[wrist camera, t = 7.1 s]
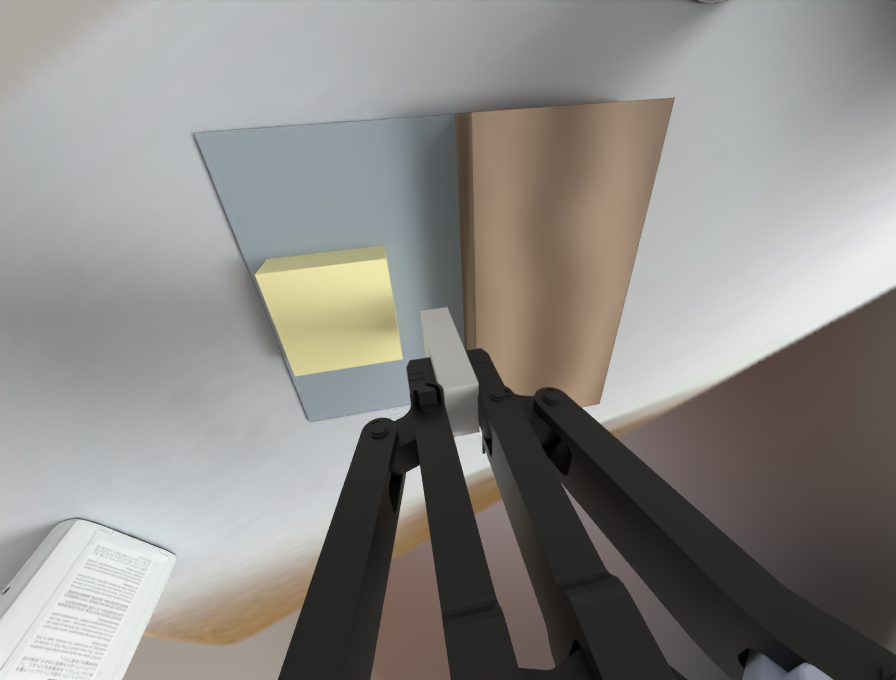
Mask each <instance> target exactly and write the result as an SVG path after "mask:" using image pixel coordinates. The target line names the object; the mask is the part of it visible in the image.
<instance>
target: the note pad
mask: <svg viewBox="0 0 896 680" xmlns="http://www.w3.org/2000/svg"><path fill="white" fill-rule="evenodd" d="M255 277H256V279H257V282H258V284H259V287H260V289H261V292H262V294H263V297H264V299H265V302H266V305H267V307H268V310H269V312H270V315H271V317H272V320H273V322H274V325H275V327H276V330H277V332H278V335H279V338H280V340H281V343H282V345H283V348H284V350H285V353H286V355H287V358H288V360H289V363H290V365H291V368H292V370H293V373H294V376H301V375H307V374H314V373H320V372H326V371H333V370H339V369H345V368H351V367H358V366H364V365H370V364H376V363H383V362H389V361H395V360H402V359H403V357H402V349H401V341H400V335H399V329H398V323H397V317H396V311H395V305H394V299H393V293H392V286H391V280H390V274H389V268H388V262H387V256H386V250H385V245H383V246H374V247H366V248H357V249H349V250H340V251H332V252H323V253H315V254H306V255H298V256H289V257H281V258H272V259H266V261H265V262H264V263H263V265H262V266H261V267H260V269H259V270H258V271H257V272H256V274H255Z"/></svg>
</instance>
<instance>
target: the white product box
mask: <svg viewBox="0 0 896 680" xmlns="http://www.w3.org/2000/svg"><path fill="white" fill-rule="evenodd" d="M176 560H177V557H176V556H175V555H174V554H172V553H170V552H168V551H166V550H163V549H161V548H158V547H156V546H153V545H151V544H148V543H145V542H143V541H140V540H138V539H135V538H132V537H130V536H127V535H125V534H122V533H119V532H117V531H114V530H112V529H110V528H107V527H104V526H101V525H98V524H96V523H92V522H89V521H85V520H80V519H70V520H66V521H63V522H61V523H59V524H57V525H56V526H55V527H54V528H53V529H52V530H51V531H50V533H49V534H48V535H47V536H46V538H45V539H44V540H43V541H42V543H41V544H40V545H39V546H38V548H37V549H36V550H35V551H34V552H33V554H32V555H31V556H30V557H29V559H28V560H27V561H26V562H25V564H24V565H23V566H22V567H21V569H20V570H19V571H18V572H17V574H16V575H15V576H14V577H13V579H12V580H11V581H10V582H9V584H8V585H7V586H6V587H5V589H4V590H3V591H2V592H1V594H0V680H122V678H123V676H124V674H125V672H126V670H127V668H128V665H129V663H130V661H131V659H132V657H133V654H134V652H135V650H136V648H137V646H138V644H139V642H140V639H141V637H142V635H143V633H144V631H145V628H146V626H147V624H148V622H149V620H150V618H151V615H152V613H153V611H154V609H155V607H156V605H157V602H158V600H159V598H160V596H161V594H162V591H163V589H164V587H165V585H166V583H167V581H168V579H169V576H170V574H171V572H172V570H173V568H174V565H175V563H176Z"/></svg>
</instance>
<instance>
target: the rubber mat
mask: <svg viewBox="0 0 896 680" xmlns="http://www.w3.org/2000/svg"><path fill="white" fill-rule="evenodd" d="M194 135H195V137H196V140H197V142H198V145H199V147H200V150H201V152H202V155H203V157H204V160H205V162H206V165H207V167H208V170H209V172H210V175H211V177H212V180H213V182H214V185H215V187H216V190H217V192H218V195H219V197H220V200H221V202H222V205H223V207H224V210H225V212H226V215H227V217H228V220H229V222H230V225H231V227H232V230H233V232H234V235H235V237H236V240H237V242H238V245H239V247H240V250H241V252H242V255H243V257H244V260H245V262H246V264H247V267H248V269H249V272H250V274H251V277H252V279H253V282H254V284H255V287H256V289H257V292H258V294H259V297H260V299H261V302H262V304H263V307H264V309H265V312H266V314H267V317H268V319H269V322H270V324H271V327H272V329H273V332H274V334H275V337H276V339H277V342H278V344H279V347H280V349H281V352H282V354H283V357H284V359H285V362H286V364H287V367H288V369H289V372H290V374H291V377H292V379H293V382H294V384H295V387H296V389H297V392H298V394H299V397H300V399H301V402H302V404H303V407H304V409H305V412H306V414H307V417H308V419H309V422H315V421H320V420H326V419H332V418H337V417H343V416H349V415H355V414H360V413H366V412H372V411H377V410H383V409H389V408H394V407H400V406H406V405H411V401H410V391H409V384H408V377H407V370H406V367H407V365H408V363H409V361H410V360H415V359H421V358H426V354H425V348H424V340H423V332H422V323H421V315H420V311H423V310H430V309H437V308H444V307H447V308H448V310H449V313H450V315H451V318H452V320H453V322H454V325H455V327H456V330H457V332H458V335H459V337H460V339H461V342H462V344H463V347H464V349H465V339H464V315H463V291H462V267H461V243H460V219H459V195H458V171H457V147H456V123H455V114H449V115H435V116H421V117H408V118H394V119H380V120H366V121H352V122H338V123H325V124H311V125H297V126H283V127H269V128H255V129H241V130H228V131H214V132H200V133H194ZM383 245H385V250H386V256H387V262H388V268H389V274H390V280H391V286H392V293H393V299H394V305H395V311H396V317H397V323H398V329H399V335H400V341H401V349H402V357H403V359H402V360H395V361H389V362H383V363H376V364H370V365H364V366H358V367H351V368H345V369H339V370H333V371H326V372H320V373H314V374H307V375H301V376H294V373H293V370H292V368H291V365H290V363H289V360H288V358H287V355H286V353H285V350H284V348H283V345H282V343H281V340H280V338H279V335H278V332H277V330H276V327H275V325H274V322H273V320H272V317H271V315H270V312H269V310H268V307H267V305H266V302H265V299H264V297H263V294H262V292H261V289H260V287H259V284H258V282H257V279H256V277H255V274H256V272H257V271H258V270H259V269H260V267H261V266H262V265H263V263H264V262H265V261H266V259H272V258H281V257H289V256H298V255H306V254H315V253H323V252H332V251H340V250H349V249H357V248H366V247H374V246H383Z"/></svg>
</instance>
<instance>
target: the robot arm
mask: <svg viewBox="0 0 896 680" xmlns="http://www.w3.org/2000/svg"><path fill="white" fill-rule="evenodd" d="M420 315H421V323H422V332H423V340H424V348H425V354H426V358H421V359H415V360H410V361H409V363H408V365H407V367H406V370H407V377H408V384H409V391H410V401H411V408H410V410H409V412H408V413H407V414H406V415H405V416H403V417H402V418H400V419H398V420H396V421H392V420H391V419H389V418H377V419H374V420H372V421H370V422H369V423H368V424H366V425H365V426H364V428H363V430H362V432H361V435H360V438H359V441H358V444H357V447H356V450H355V453H354V456H353V459H352V462H351V465H350V467H349V470H348V473H347V476H346V479H345V482H344V485H343V488H342V491H341V494H340V497H339V500H338V503H337V506H336V509H335V512H334V515H333V518H332V521H331V524H330V527H329V530H328V533H327V536H326V539H325V542H324V544H323V547H322V550H321V553H320V556H319V559H318V562H317V565H316V568H315V571H314V574H313V577H312V580H311V583H310V586H309V589H308V592H307V595H306V598H305V601H304V604H303V607H302V610H301V613H300V616H299V619H298V621H297V624H296V628H295V631H294V633H293V636H292V639H291V642H290V645H289V648H288V651H287V654H286V657H285V660H284V663H283V666H282V669H281V672H280V675H279V678H278V680H370V678H371V673H372V667H373V661H374V655H375V650H376V643H377V638H378V632H379V626H380V621H381V615H382V609H383V603H384V598H385V592H386V586H387V581H388V575H389V569H390V562H391V558H392V552H393V546H394V540H395V535H396V529H397V523H398V517H399V511H400V506H401V500H402V494H403V488H404V483H405V477H406V472H407V471H409V470H411V469H413V468H415V467H417V466H419V465H420V468H421V475H422V482H423V489H424V496H425V502H426V509H427V516H428V523H429V530H430V537H431V544H432V550H433V557H434V564H435V570H436V577H437V584H438V590H439V591H438V592H439V598H440V605H441V612H442V620H443V627H444V635H445V642H446V649H447V656H448V663H449V670H450V677H451V680H687V679H686V678H685V677H684V676H682V675H681V674H680V673H679V672H677V671H676V670H675V669H674V668H672V667H671V666H669V665H668V663H667V661H666V659H665V657H664V656H663V654H662V652H661V650H660V648H659V646H658V645H657V643H656V641H655V639H654V637H653V635H652V634H651V632H650V630H649V628H648V626H647V625H646V623H645V621H644V619H643V617H642V615H641V613H640V612H639V610H638V608H637V606H636V604H635V603H634V601H633V599H632V597H631V595H630V593H629V592H628V590H627V589H626V587H625V586H624V584H623V583H622V582H621V580H620V579H619V578H618V577H616V576H614V575H612V574H610V573H609V572H608V571H607V569H606V568H605V566H604V565H603V562H602V561H601V559H600V557H599V555H598V553H597V551H596V549H595V548H594V545H593V543H592V541H591V540H590V538H589V536H588V534H587V532H586V530H585V528H584V526H583V524H582V522H581V520H580V519H579V517H578V515H577V513H576V511H575V509H574V507H573V505H572V504H571V501H570V499H569V498H568V496H567V494H566V492H565V490H564V488H563V486H562V484H563V485H564V487H565V488H566V489H567V490H568V491H569V493H570V494H571V495H572V496H573V497H574V499H575V500H576V501H577V502H578V503H579V505H580V506H581V507H582V508H583V509H584V511H585V512H586V513H587V514H588V515H589V517H590V518H591V519H592V520H593V521H594V523H595V524H596V525H597V526H598V527H599V528H600V530H601V531H602V532H603V533H604V534H605V536H606V537H607V538H608V539H609V540H610V542H611V543H612V544H613V545H614V546H615V548H616V549H617V550H618V551H619V552H620V554H621V555H622V556H623V557H624V558H625V560H626V561H627V562H628V563H629V564H630V566H631V567H632V568H633V569H634V570H635V571H636V573H637V574H638V575H639V576H640V577H641V579H642V580H643V581H644V582H645V584H646V585H647V586H648V587H649V588H650V590H652V592H653V593H654V594H655V596H656V597H657V598H658V599H659V600H660V602H661V603H662V604H663V605H664V606H665V607H666V609H667V610H668V611H669V612H670V613H671V615H672V616H673V617H674V618H675V619H676V621H677V622H678V623H679V624H680V625H681V627H682V628H683V629H684V630H685V631H686V633H687V634H688V635H689V636H690V637H691V638H692V639H693V641H695V643H696V644H697V645H698V646H699V647H700V648H701V649H702V650H703V652H704V653H705V654H706V655H707V656H708V657H709V658H710V659H711V660H712V661H713V662H714V663H715V664H716V665H717V666H718V667H719V668H720V669H721V670H722V671H723V672H725V674H726V675H727V676H728V677H729V678H731V679H732V680H896V655H895V654H893V653H892V652H890V651H888V650H887V649H885V648H884V647H882V646H880V645H879V644H877V643H876V642H874V641H872V640H870V639H869V638H867V637H866V636H864V635H862V634H861V633H859V632H858V631H856V630H854V629H853V628H851V627H849V626H848V625H846V624H845V623H843V622H841V621H839V620H838V619H836V618H835V617H833V616H831V615H830V614H828V613H827V612H825V611H823V610H822V609H820V608H818V607H817V606H815V605H814V604H812V603H810V602H809V601H807V600H805V599H804V598H802V597H801V596H799V595H797V594H796V593H794V592H792V591H791V590H789V589H787V588H786V587H785V586H784V585H782V584H781V583H780V582H779V581H778V580H777V579H776V578H774V577H773V576H772V575H771V574H769V572H768V571H766V570H765V569H764V568H763V567H762V566H761V565H759V563H757V562H756V561H755V560H754V559H753V558H752V557H751V556H749V555H748V554H747V553H746V552H745V551H744V550H743V549H742V548H740V547H739V546H738V545H737V544H736V543H735V542H734V541H732V540H731V539H730V538H729V537H728V536H727V535H726V534H724V533H723V532H722V531H721V530H720V529H719V528H717V527H716V526H715V525H714V524H713V523H712V522H711V521H710V520H709V519H707V518H706V517H705V516H704V515H703V514H702V513H701V512H700V511H698V510H697V509H696V508H695V507H694V506H693V505H692V504H690V503H689V502H688V501H687V500H686V499H685V498H684V497H682V496H681V495H680V494H679V493H678V492H677V491H676V490H675V489H673V488H672V487H671V486H670V485H669V484H668V483H667V482H665V481H664V480H663V479H662V478H661V477H660V476H659V475H657V474H656V473H655V472H654V471H653V470H652V469H651V468H649V467H648V466H647V465H646V464H645V463H644V462H643V461H642V460H640V459H639V458H638V457H637V456H636V455H635V454H634V453H633V452H631V451H630V450H629V449H628V448H627V447H625V445H623V444H622V443H621V442H620V441H619V440H618V439H617V438H615V437H614V436H613V435H612V434H611V433H610V432H609V431H608V430H606V429H605V428H604V427H603V426H602V425H601V424H600V423H598V422H597V421H596V420H595V419H594V418H593V417H592V416H590V415H589V414H588V413H587V412H586V411H585V410H584V409H583V408H581V407H580V406H579V405H578V404H577V403H576V402H575V401H573V400H572V399H571V398H570V397H569V396H568V395H567V394H566V393H564V392H563V391H561V390H560V389H556V388H553V387H545V388H541V389H539V390H537V391H536V393H535V395H534V396H524V395H518V394H515V393H514V392H513V391H512V390H511V389H510V388H508V387H506V386H505V385H504V383H503V381H502V379H501V377H500V375H499V374H498V372H497V370H496V368H495V366H494V364H493V362H492V360H491V358H490V356H489V354H488V353H487V352H486V351H484V350H483V349H482V348H478V349H472V350H466V351H465V349H464V347H463V344H462V342H461V339H460V337H459V335H458V332H457V330H456V327H455V325H454V322H453V320H452V318H451V315H450V313H449V310H448V308H447V307H444V308H437V309H430V310H423V311H420ZM479 424H480V427H481V430H482V450H483V454H485V450H486V453H487V456H488V459H489V462H490V464H491V467H492V470H493V473H494V476H495V479H496V482H497V485H498V488H499V490H500V493H501V496H502V499H503V502H504V505H505V508H506V511H507V514H508V516H509V519H510V522H511V525H512V528H513V531H514V534H515V536H516V540H517V542H518V545H519V548H520V551H521V554H522V557H523V560H524V563H525V566H526V568H527V572H528V574H529V577H530V580H531V583H532V586H533V589H534V592H535V595H536V598H537V600H538V603H539V606H540V609H541V612H542V615H543V618H544V621H545V624H546V627H547V632H548V639H549V644H550V648H551V653H552V656H553V659H554V663H555V666H556V667H555V668H553V669H551V670H537V669H525V668H518V664H517V661H516V657H515V653H514V650H513V646H512V642H511V639H510V635H509V631H508V628H507V624H506V621H505V617H504V615H503V612H502V609H501V607H500V605H499V603H498V601H497V598H496V595H495V591H494V588H493V584H492V581H491V577H490V572H489V569H488V565H487V562H486V557H485V554H484V550H483V546H482V543H481V539H480V535H479V531H478V527H477V524H476V520H475V516H474V512H473V508H472V505H471V501H470V497H469V493H468V490H467V486H466V482H465V478H464V475H463V471H462V467H461V463H460V459H459V456H458V452H457V448H456V444H455V441H454V437H455V436H460V435H465V434H471V433H476V432H479ZM561 483H562V484H561Z"/></svg>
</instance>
